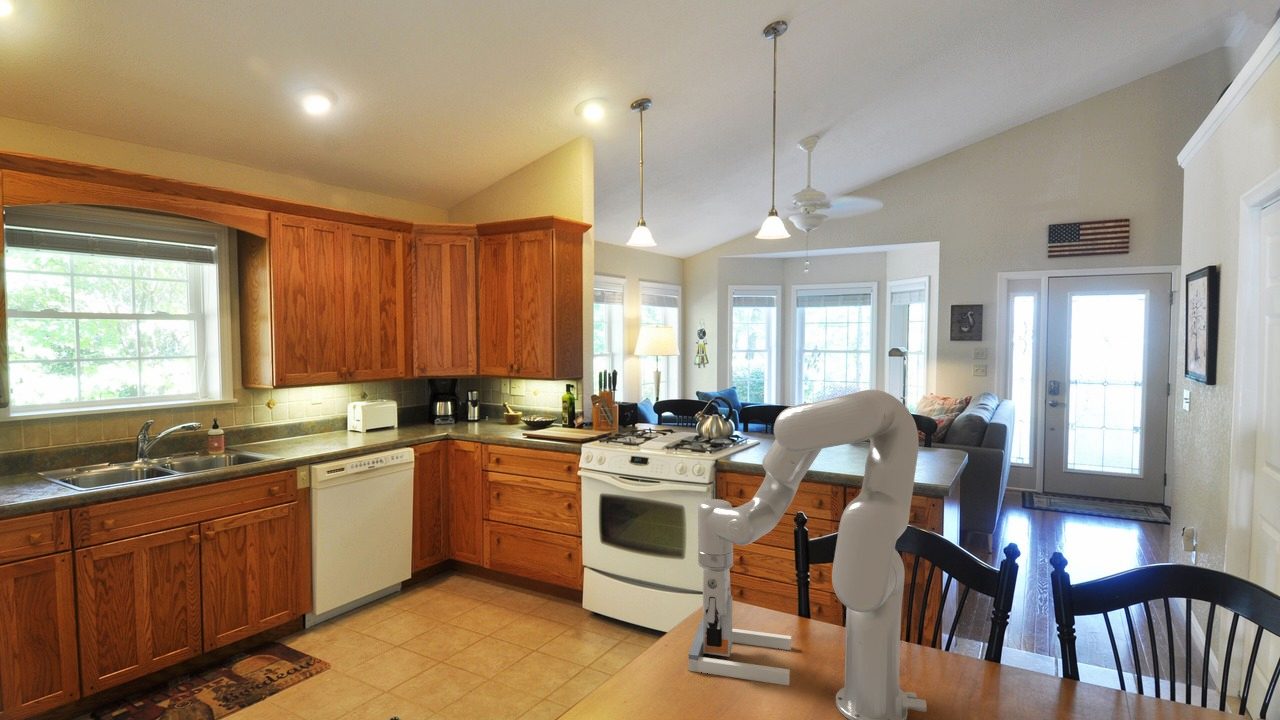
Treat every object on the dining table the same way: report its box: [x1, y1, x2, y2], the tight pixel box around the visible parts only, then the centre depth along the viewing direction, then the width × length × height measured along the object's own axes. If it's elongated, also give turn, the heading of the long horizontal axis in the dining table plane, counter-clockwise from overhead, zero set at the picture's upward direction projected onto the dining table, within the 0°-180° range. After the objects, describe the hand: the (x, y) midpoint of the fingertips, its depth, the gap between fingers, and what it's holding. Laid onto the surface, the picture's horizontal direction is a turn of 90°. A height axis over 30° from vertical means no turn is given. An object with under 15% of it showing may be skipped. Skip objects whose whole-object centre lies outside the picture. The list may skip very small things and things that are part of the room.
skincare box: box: [702, 595, 733, 658], centre depth 136 cm, size 6×4×12 cm
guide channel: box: [687, 619, 792, 686], centre depth 135 cm, size 20×16×4 cm
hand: (715, 639), depth 136 cm, fingers closed on skincare box, 4 cm apart
